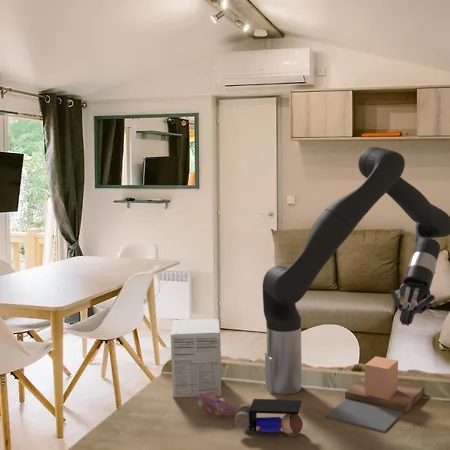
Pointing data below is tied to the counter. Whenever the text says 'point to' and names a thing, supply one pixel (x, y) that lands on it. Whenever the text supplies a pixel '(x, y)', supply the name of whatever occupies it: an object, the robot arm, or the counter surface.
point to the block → (381, 377)
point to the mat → (364, 415)
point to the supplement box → (195, 357)
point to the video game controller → (216, 404)
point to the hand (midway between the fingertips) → (404, 323)
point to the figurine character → (273, 406)
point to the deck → (398, 401)
